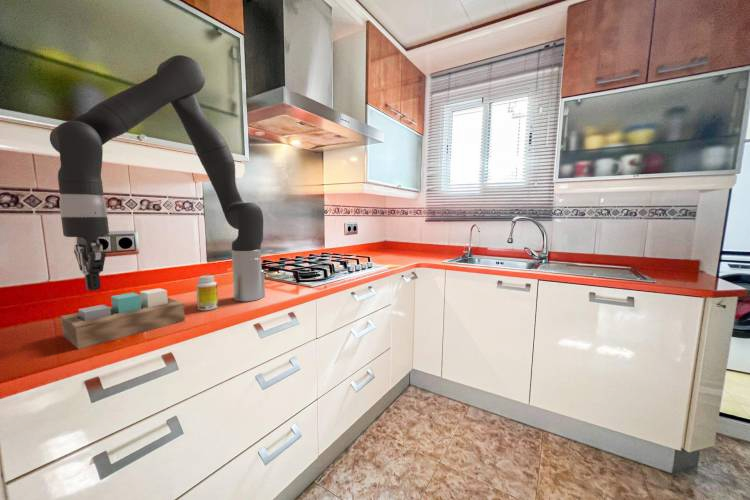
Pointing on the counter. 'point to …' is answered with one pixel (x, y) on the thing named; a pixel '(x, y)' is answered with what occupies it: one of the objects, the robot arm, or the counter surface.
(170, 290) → the counter surface
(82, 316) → the grey key
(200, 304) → the supplement bottle
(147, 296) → the ivory key
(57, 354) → the counter surface
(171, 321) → the frame
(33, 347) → the counter surface
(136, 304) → the teal key
